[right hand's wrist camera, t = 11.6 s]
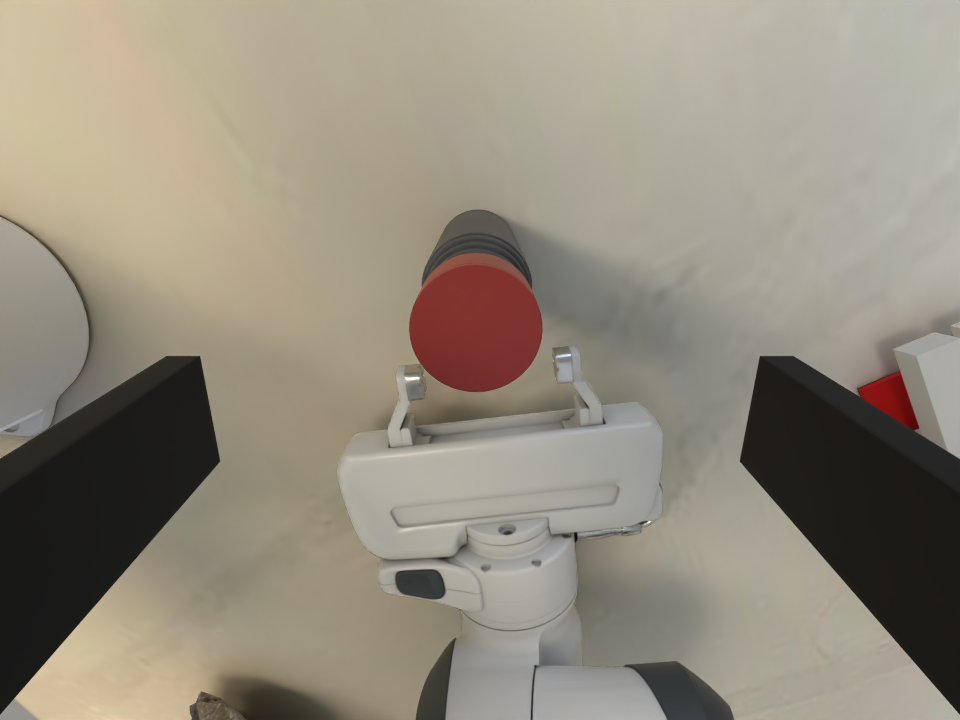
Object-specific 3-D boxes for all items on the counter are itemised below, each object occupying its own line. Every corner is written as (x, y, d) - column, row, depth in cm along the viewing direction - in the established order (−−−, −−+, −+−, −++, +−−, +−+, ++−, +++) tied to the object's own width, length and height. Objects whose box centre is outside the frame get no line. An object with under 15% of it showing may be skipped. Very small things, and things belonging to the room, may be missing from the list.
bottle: (528, 228, 36) (572, 290, 19) (497, 297, 37) (512, 413, 20) (456, 197, 35) (434, 231, 18) (428, 269, 37) (384, 364, 20)
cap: (555, 280, 21) (565, 296, 18) (506, 383, 22) (509, 410, 20) (442, 233, 20) (437, 242, 18) (400, 342, 21) (390, 364, 19)
